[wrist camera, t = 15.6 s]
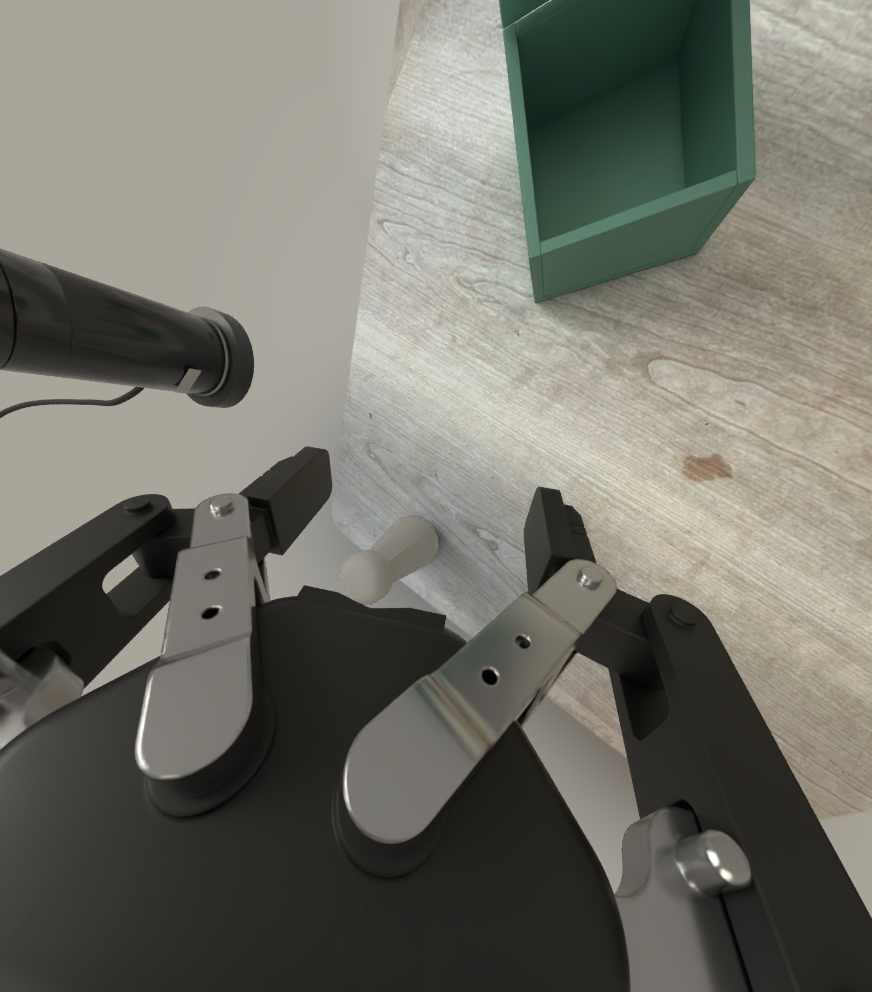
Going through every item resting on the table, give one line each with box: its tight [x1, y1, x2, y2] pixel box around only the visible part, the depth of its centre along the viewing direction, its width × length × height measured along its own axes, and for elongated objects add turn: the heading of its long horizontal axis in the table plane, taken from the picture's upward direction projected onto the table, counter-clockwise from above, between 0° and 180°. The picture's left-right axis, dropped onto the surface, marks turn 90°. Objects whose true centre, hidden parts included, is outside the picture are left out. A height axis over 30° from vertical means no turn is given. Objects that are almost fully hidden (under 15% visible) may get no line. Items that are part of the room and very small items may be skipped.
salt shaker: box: [340, 516, 438, 605], centre depth 31 cm, size 6×6×13 cm
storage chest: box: [503, 0, 756, 303], centre depth 23 cm, size 14×12×8 cm
